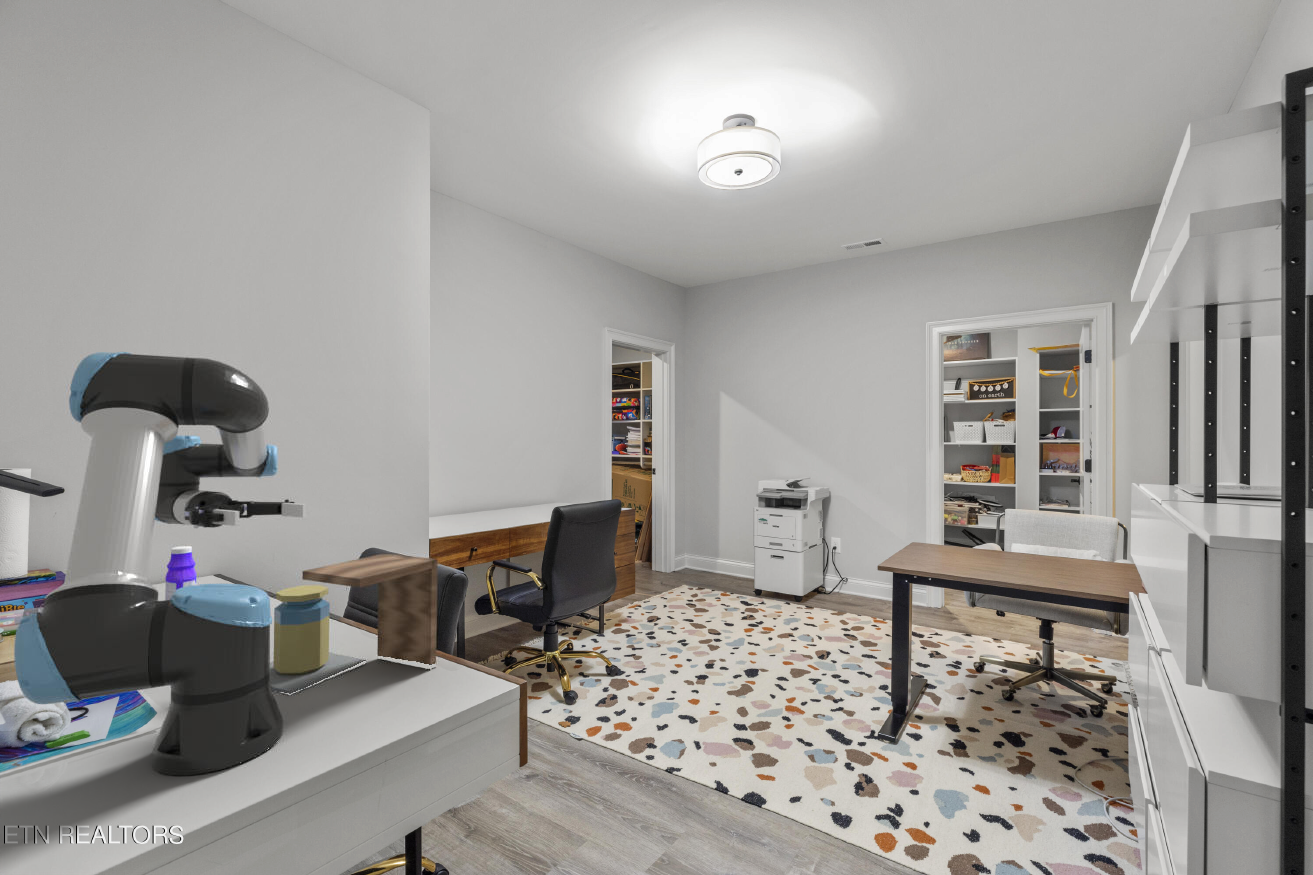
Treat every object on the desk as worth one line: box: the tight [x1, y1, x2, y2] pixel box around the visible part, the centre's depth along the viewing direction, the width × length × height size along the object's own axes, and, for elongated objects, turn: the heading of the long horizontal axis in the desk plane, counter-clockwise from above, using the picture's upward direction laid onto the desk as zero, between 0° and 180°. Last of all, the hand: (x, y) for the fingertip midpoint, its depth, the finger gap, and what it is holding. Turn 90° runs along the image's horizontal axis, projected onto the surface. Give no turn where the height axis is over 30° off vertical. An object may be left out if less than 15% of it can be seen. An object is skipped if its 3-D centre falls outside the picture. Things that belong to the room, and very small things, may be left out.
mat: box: [270, 652, 367, 694], centre depth 113 cm, size 16×16×1 cm
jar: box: [272, 584, 331, 675], centre depth 113 cm, size 9×9×15 cm
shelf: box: [301, 553, 439, 665], centre depth 110 cm, size 14×18×22 cm
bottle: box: [164, 545, 198, 601], centre depth 147 cm, size 7×6×17 cm
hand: (272, 514), depth 117 cm, fingers open, 13 cm apart
